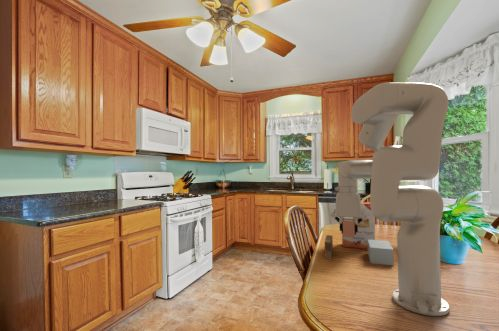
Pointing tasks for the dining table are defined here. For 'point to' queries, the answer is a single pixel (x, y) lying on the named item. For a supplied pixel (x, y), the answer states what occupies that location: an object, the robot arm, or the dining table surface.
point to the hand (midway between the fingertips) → (348, 232)
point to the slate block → (380, 252)
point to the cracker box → (362, 230)
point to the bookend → (328, 246)
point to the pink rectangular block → (348, 227)
